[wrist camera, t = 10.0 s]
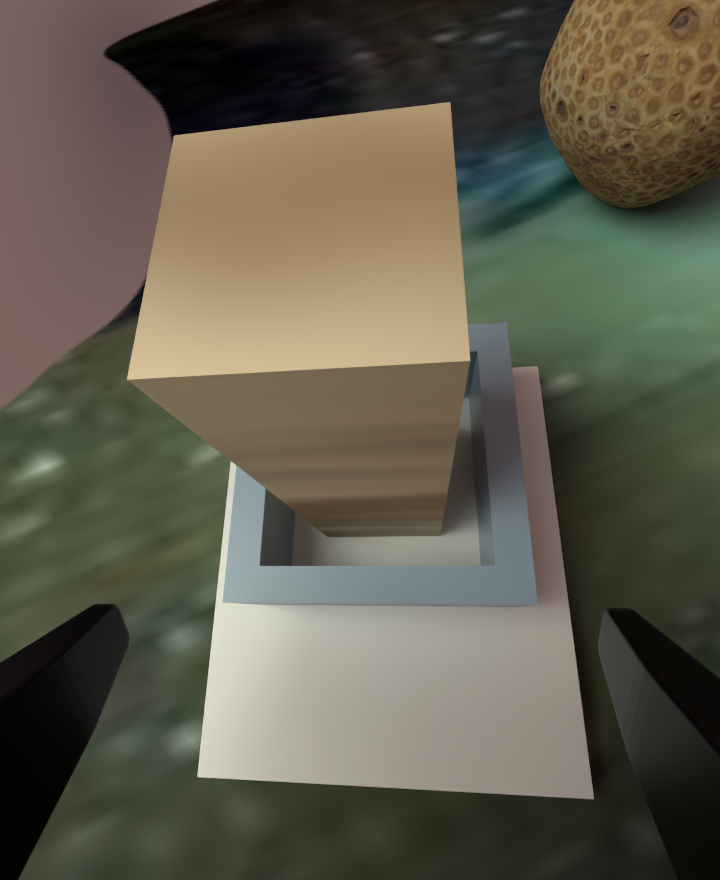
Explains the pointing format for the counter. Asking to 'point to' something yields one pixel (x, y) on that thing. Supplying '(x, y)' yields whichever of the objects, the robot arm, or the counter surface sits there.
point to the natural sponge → (636, 97)
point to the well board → (407, 626)
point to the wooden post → (316, 312)
